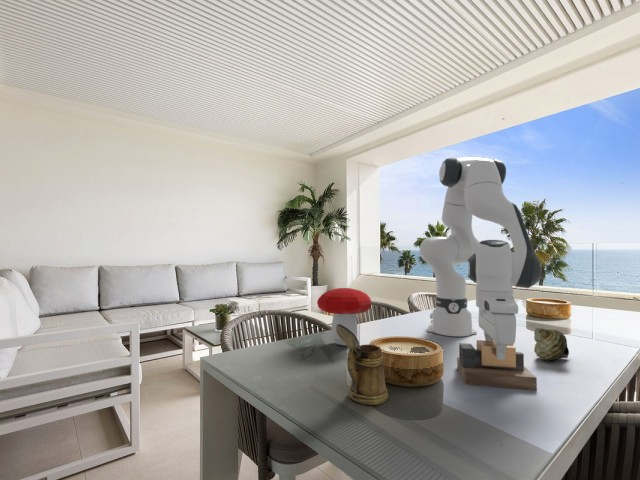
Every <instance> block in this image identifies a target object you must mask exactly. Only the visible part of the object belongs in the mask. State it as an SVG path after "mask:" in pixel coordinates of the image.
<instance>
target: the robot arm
mask: <svg viewBox="0 0 640 480" xmlns="http://www.w3.org/2000/svg"><path fill="white" fill-rule="evenodd" d="M506 175H507V166H506V165H505V163H504V162H503V161H501V160H498V159H495V158H493V159H490V158H482V157H447V158H445V160H444V161H443V162H442V163H441V165H440V168H439V171H438V176H439V181H440V183H441V184H442V186H445V187H447V189H446V192H445V197H444V203H443V208H442V213H441V214H442V215H441V221H442V223H443V225H444V226H446V227H447V228H448V229H450V235H449V236H432V237H427V238H424V239H423V240H422V242H421V243H420V246H419V254H420V255H419V256H421V259H422V260H423V261H424V262H426V263H427V264H428V265H429V266H430V268H431V270H432V271H433V274H434V277H435V281H436V297H435V306H436V307H435V308H434V309H433V310H432V312H431V313H430V314H429V319H430V323H429V325H428V326H427V328H426V329H427V330H426V331H427V332H429V333H434V334H437V335H441V336H447V337H468V336H471V335H477V330H475V329H473V322H472V321H473V320H472V319H473V318H472V313H471V311H470V310H468V308H467V307H468V298H467V288H466V287H467V286H466V284H467V283H466V278H465V277H464V276H463V274H460V273H459V272H456V269H455V267H454V264H468V273H467V277H468V278H469V280H471V281H472V282H473V283H475V284H476V287H475V306H476V307H477V308H478V320H477V321H478V327H479V328H480V329H482V331H483V336H484V341H495V342H496V346H497V349H496V351H495V354H496V358H497V359H498V360H504V359H505V352H506V349H507V346H514V344H515V342H516V337H517V334H516V333H517V316H516V315H518V314H519V305H518V304H517V302H516V300H515V298H514V288H513V287H516V288H525V289H530V288H531V287H533V286H534V285H536V284H537V283H538V282H539V281H540V280H541V278H542V266H541V262H540V259H539V257H538V255H537V254H536V252H535V251H536V250H535V249H534V247H533V244H532V241H531V238H530V235H529V233H528V231H527V227H526V224H525V221H524V219H523V217H522V214H521V212H520V210H519V207H518V206H517V204H516V203H513V202H511V201H510V200H508V198H507V196H505V193H504V191H503V183H504V182H505V179H506ZM473 216H474V217H476V218H478V219H481V220H484V221H488V222H491V223H493V224H497V225H499V226H501V227H503V228H504V229H506V231H507V232H508V235H509V238H510V240H511V243H512V247H513V250H514V251H513V252H512V250H511V246H510V243H509V242H507V241H505V240H500V239H485V240H480V241H479V240H478V239H477V238H476V236H475V234H474V233H473V226H472V225H473V224H472V223H473Z"/></svg>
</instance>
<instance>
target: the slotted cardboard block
mask: <svg viewBox="0 0 640 480" xmlns="http://www.w3.org/2000/svg"><path fill="white" fill-rule="evenodd" d="M475 341H476V350H479V351H480V352H481V365H485V366H499V367H514V368H516V352H517V351H516V350H517V349H516V346H514V345H513V346H507V349H506V352H505V359H504V360H498V359H497V358H496V354H495V351H496V349H497V346H496V342H495V341H494V340H493V341H486V340H485V339H484V340H481V339H477V340H475Z"/></svg>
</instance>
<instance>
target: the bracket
mask: <svg viewBox="0 0 640 480" xmlns="http://www.w3.org/2000/svg"><path fill="white" fill-rule="evenodd" d="M458 345H459V347H458V348H459V349H458V351H459V355H458V356H457V357H456V360H457V361H456V365H457V367H456V368H457V370H458V372H459V374H460V376H461V378H462V379H463V382H464V383H465V385H469V386H481V387H492V388H506V389H507V388H508V389H517V390H528V391H529V390H531V391H537V390H538V386H537V385H538V384H537V383H538V381H537V377H536V375H535V374H533V373H532V372H531V371H530V370H529V369H528V368H527V367H525V360H524V359H525V357H524V353H523V352H522V351H516V368H514V367H499V366H485V365H481V352H480V351H479V350H477V348H475V347H474V346H473V344H472V343H466V342H465V343H463V342H459V344H458Z"/></svg>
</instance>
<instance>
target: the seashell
mask: <svg viewBox="0 0 640 480" xmlns="http://www.w3.org/2000/svg"><path fill="white" fill-rule="evenodd" d="M533 339H534V341H535V344H534V348H533V349H534V354H535V355H536V356H537V358H539V359H540V360H544V361H553V360H557V359H558V360H559V359H568V358H569V356H570V350H569V348H568V340H567V337H566V336H565V334H564V333H563V332H561V331H558V329H557V330H556V329H551V328H550V329H546V328H544V327H542V328H540V327H535V328H534V337H533Z"/></svg>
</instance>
